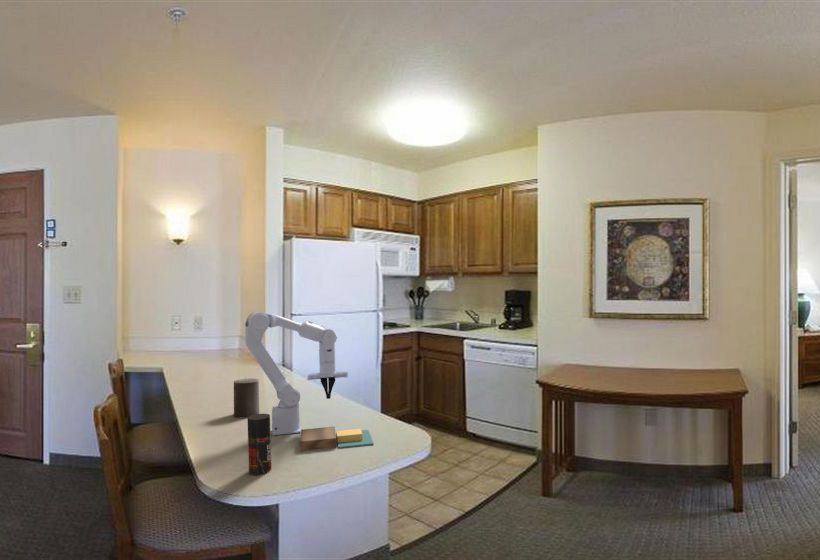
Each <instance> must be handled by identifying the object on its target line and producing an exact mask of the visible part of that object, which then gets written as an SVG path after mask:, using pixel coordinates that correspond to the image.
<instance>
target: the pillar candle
mask: <svg viewBox="0 0 820 560" xmlns="http://www.w3.org/2000/svg"><path fill="white" fill-rule="evenodd" d="M259 383H260V381H259V379H258V378H247V377H244V378H239V379H236V380H234V381H233V416H234V417H235V416H236V417H235V418H240V417H246V418H248V417H249V416H251V415H255V414H260V386H259V385H260V384H259Z"/></svg>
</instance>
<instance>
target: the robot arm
mask: <svg viewBox="0 0 820 560" xmlns="http://www.w3.org/2000/svg"><path fill="white" fill-rule="evenodd" d="M275 327H280V328H284V329H287V330H291V331H295V332H297V333H298V334H299V337H300V338H304V339H308V340H310V341H313V342H318V344H319V347H318V348H319V350H318V354H319V355H318V356H319V358H318V359H319V363H318V364H319V372H314V373H307V381H312V380H320V384H321V385H322V387H323V391H324V393H325V396H326V399H329V400H330V399H331V398H332V397H331V395H332V391H333V388H334V386H335V383H336V379H339V378H349V375H348V374H349V373H348V372H349V371H336V348H335V345H336V344H335V343H336V342H337V339H338V336H337V335H336V332H335V331H334V330H333V329H331V328H326V327H325V326H324V325H321V326H320V325H318V324H315V323H313V321H310V320H308V321H304V322H301V323H300V322H296V321H294V320H292V319H288V318H286V317H284V316H283V317H282V316H280V315H277V314H272V313H267V312H266V313H265V312H261V311H253V312H251V313H250V314H248V315H247V317H246V321H245V322H244V328H245V329H244V343H245V346H246V347H247V349H248V351H250V353H251V355H252V356H253V357H254V359H255V360H256V362H257V364H259V366H260V368H261V369H262V371H263V372H264V374H265V375H266V377H267V378H268V379H269V381H270V382H271V384H272V386H273V388H274V389H275V391H276V396H277V399H278V400H279V402H278V403H277V406H272V408H271V429H272V430H271V431H272V433H271V434H272V435H271V436H278V435H289V434H297V433H298V434H299V433H300V434H301V430H302V424H300V423H301V422H300V420H301V418H300V403H299V402H300V401H301V394H300V392H299V390H297V389H296V388H294V387H293V386H292V385H291V384H290V382H289V381H288V380H287V379H286V376H285V375H284V374H283V373H282V371H281V369H280V368H279V367H278V365H277V364H276V362H275V361H274V358H273V357H272V356H271V354H270V353H269V351H268V350H267V349H266V347H265V346H264V344H263V343H262V340H263V337H264V334H265V333H266V331H267V329H268V328H271V329H272V328H275Z"/></svg>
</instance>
